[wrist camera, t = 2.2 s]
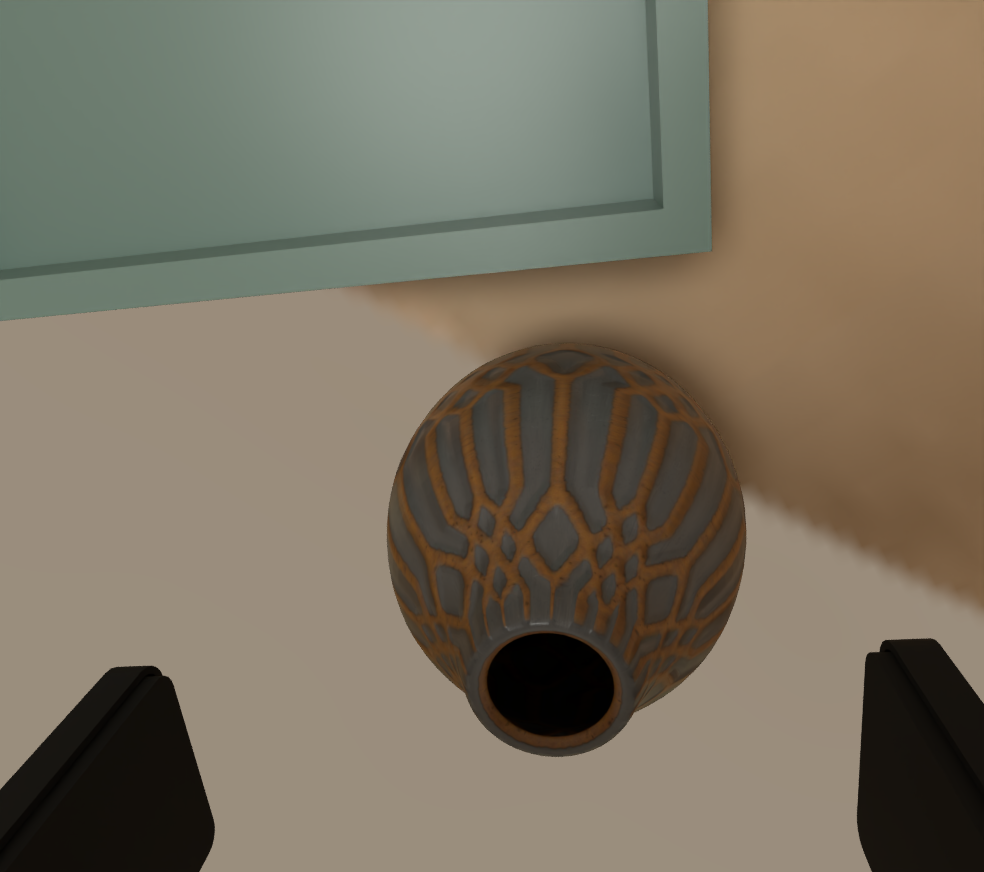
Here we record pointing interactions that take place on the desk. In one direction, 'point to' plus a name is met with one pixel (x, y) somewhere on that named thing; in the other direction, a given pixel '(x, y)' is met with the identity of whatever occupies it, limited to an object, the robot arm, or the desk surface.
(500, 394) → the vase
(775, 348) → the desk surface
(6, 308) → the tray
